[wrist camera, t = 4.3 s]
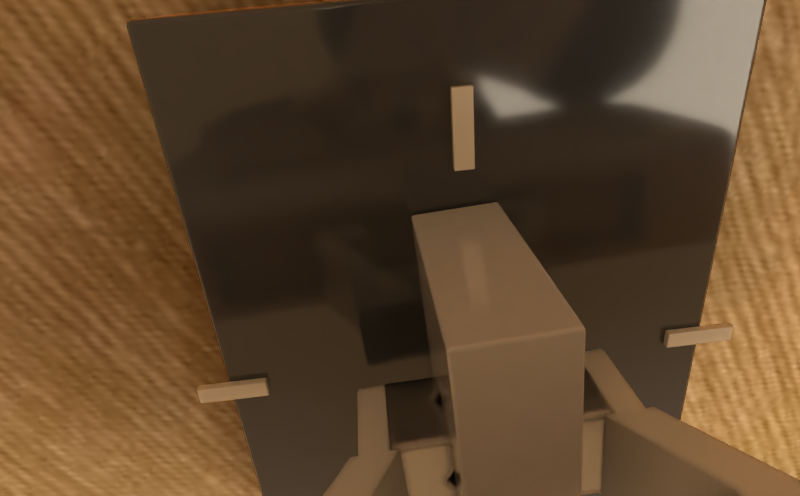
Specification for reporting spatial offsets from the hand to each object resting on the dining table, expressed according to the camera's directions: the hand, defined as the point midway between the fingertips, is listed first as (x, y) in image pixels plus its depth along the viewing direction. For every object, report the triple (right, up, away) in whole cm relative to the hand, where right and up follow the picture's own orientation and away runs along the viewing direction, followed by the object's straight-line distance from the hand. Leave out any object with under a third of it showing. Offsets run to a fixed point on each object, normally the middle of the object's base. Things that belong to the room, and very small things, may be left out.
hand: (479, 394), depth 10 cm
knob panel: (0, +2, +4) cm, 4 cm away
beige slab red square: (0, 0, +1) cm, 1 cm away
